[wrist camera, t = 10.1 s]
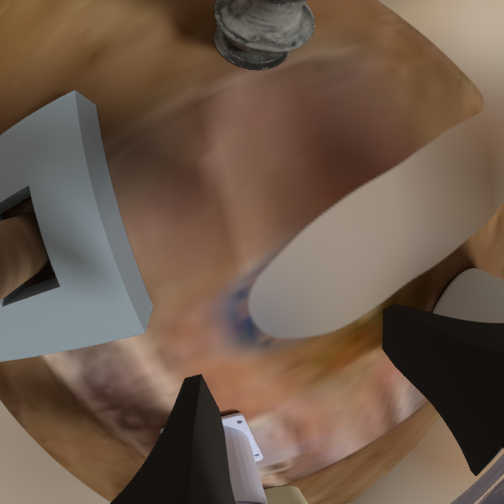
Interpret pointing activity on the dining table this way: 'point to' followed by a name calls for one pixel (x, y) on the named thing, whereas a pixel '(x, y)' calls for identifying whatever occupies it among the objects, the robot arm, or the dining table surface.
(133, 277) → the socket block
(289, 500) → the reusable coffee cup
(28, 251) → the walnut peg
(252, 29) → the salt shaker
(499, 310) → the cylinder vase
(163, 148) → the dining table surface
